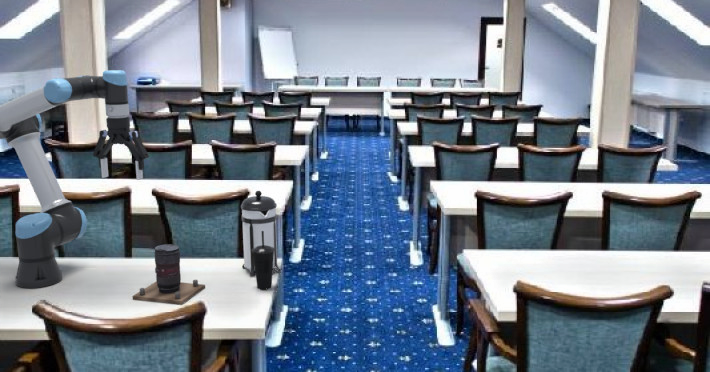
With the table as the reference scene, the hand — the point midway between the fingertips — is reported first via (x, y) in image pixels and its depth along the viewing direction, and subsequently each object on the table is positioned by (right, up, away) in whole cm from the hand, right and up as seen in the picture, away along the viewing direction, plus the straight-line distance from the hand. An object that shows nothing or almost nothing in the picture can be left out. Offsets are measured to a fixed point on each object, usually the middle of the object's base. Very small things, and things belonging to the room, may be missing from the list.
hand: (122, 178), depth 249 cm
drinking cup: (+49, -38, -1) cm, 62 cm away
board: (+18, -39, -6) cm, 43 cm away
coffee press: (+45, -34, +18) cm, 59 cm away
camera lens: (+18, -38, -7) cm, 42 cm away
